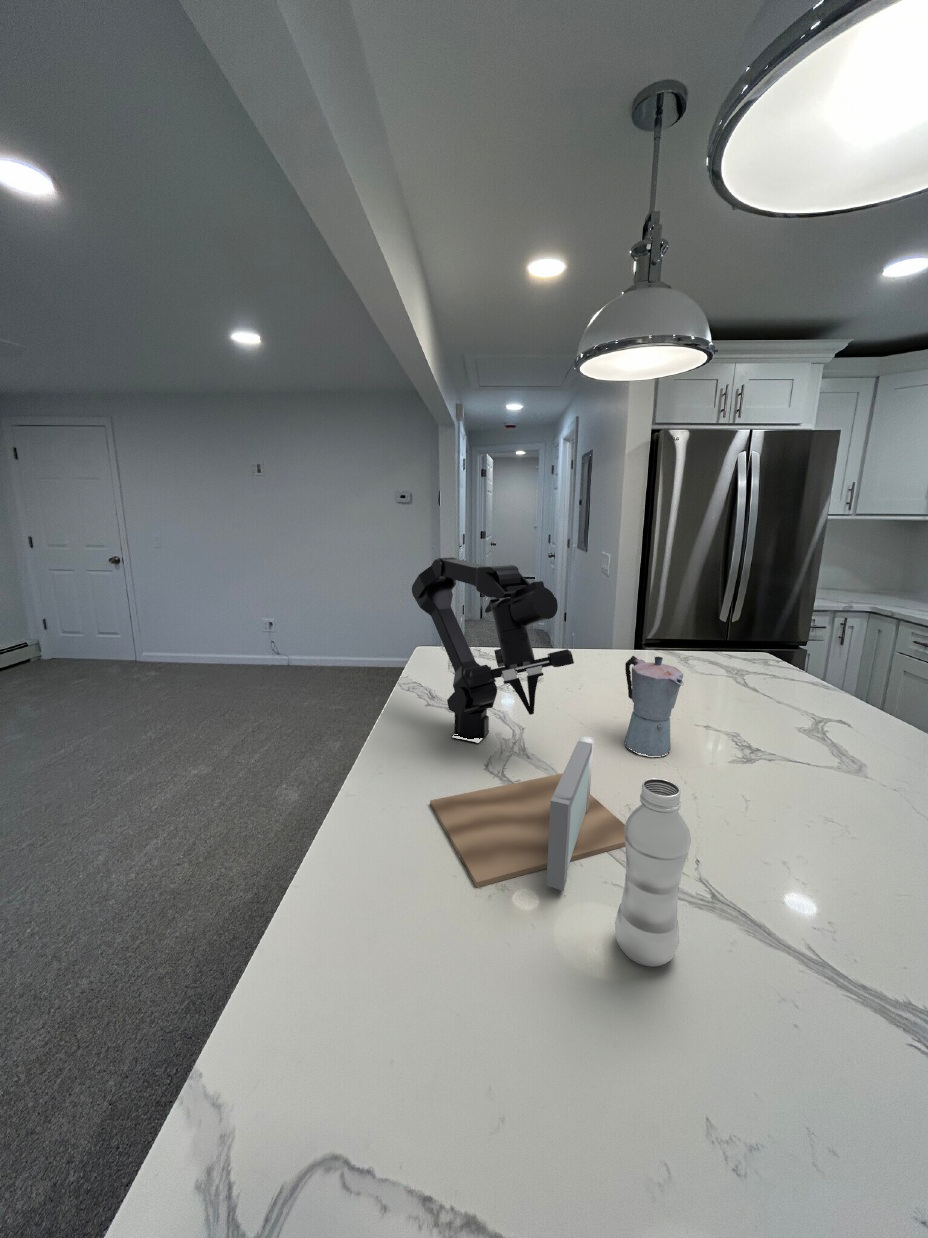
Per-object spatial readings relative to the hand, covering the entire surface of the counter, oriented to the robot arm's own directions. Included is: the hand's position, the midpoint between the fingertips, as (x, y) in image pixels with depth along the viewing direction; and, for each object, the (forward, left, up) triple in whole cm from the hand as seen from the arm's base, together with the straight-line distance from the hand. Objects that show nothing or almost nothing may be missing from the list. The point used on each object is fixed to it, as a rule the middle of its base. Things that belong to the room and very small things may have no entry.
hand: (531, 714), depth 91 cm
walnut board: (+4, -15, -11) cm, 20 cm away
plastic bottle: (+23, -32, -12) cm, 41 cm away
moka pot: (+19, +20, -12) cm, 30 cm away
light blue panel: (+12, -18, -10) cm, 24 cm away
